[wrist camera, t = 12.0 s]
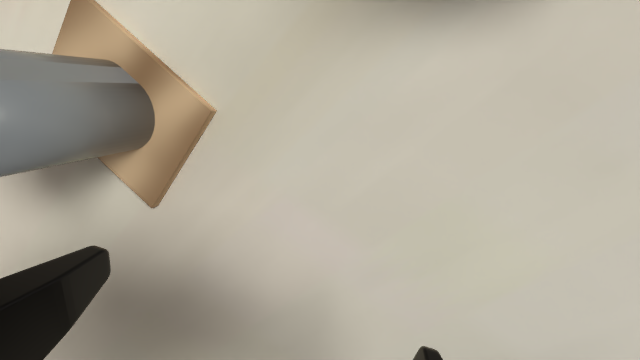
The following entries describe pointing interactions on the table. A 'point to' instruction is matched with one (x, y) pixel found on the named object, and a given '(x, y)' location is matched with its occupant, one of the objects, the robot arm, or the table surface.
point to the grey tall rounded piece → (67, 110)
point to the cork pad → (162, 88)
